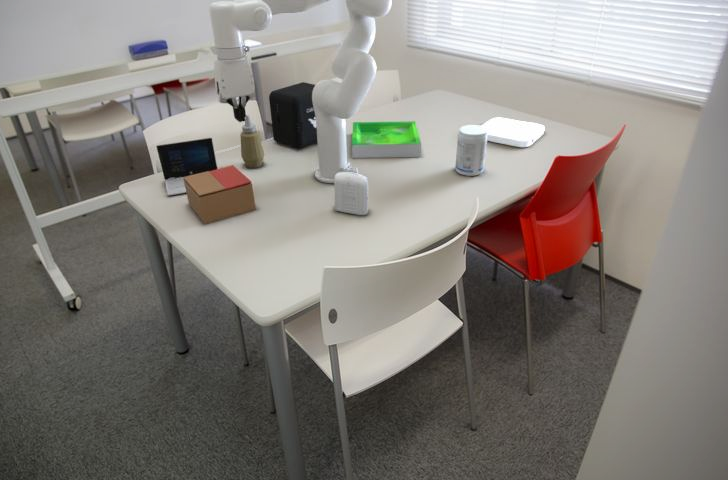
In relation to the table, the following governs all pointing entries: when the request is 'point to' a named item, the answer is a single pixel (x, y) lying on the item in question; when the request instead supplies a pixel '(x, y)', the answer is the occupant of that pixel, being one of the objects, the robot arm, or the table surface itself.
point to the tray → (385, 139)
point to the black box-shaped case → (293, 116)
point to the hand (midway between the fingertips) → (240, 120)
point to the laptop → (185, 162)
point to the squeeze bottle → (251, 145)
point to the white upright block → (351, 193)
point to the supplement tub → (471, 150)
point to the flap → (230, 177)
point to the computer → (513, 132)
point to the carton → (217, 197)
